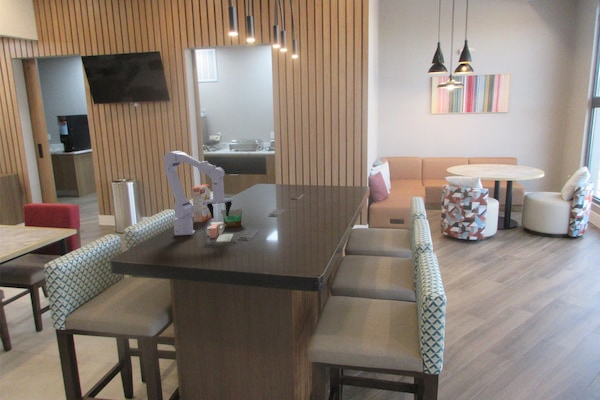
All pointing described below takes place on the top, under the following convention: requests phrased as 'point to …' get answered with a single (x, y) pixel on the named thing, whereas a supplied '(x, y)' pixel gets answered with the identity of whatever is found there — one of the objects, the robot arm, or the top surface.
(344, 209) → the top surface
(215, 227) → the salmon pink rectangular prism
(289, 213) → the top surface
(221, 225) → the white u-shaped piece
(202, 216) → the cracker box
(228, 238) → the white rectangular board
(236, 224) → the food container
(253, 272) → the top surface
